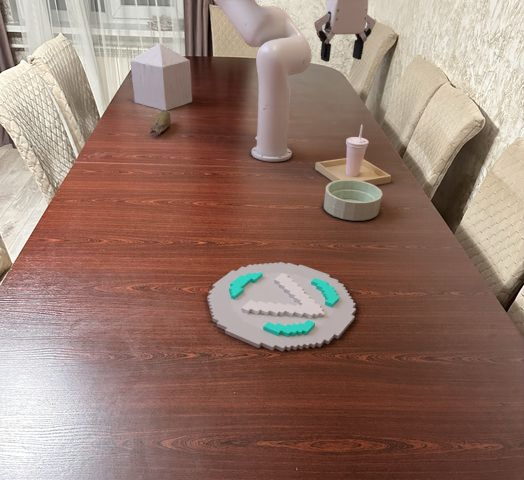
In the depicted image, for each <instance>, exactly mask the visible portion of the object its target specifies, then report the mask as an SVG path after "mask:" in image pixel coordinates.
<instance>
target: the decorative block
mask: <svg viewBox="0 0 524 480" xmlns="http://www.w3.org/2000/svg"><path fill="white" fill-rule="evenodd" d="M191 69H192V68H191V61H190V59H188V58H186V57H185V56H183V55H182V54H180V53H178V52H176V51H174V50H172V49H171V48H170V47H167V46H166V45H164V44H162V43H157V44H155V45H153V46H152V47H150V48H148V49H146V50H144V51H143V52H142V53H140V54H138V55H137V56H135V57H133V58H132V59H131V60H130V71H131V78H132V79H131V80H132V89H133V94H134V95H133V97H134V103H135V104H138V105H139V104H140V105H142V106H146V107H150V108H155V109H157V110H161V111H169V110H172V109H175V108H178V107H181V106H184V105H187V104H190V103H192V102H193V93H192V71H191Z"/></svg>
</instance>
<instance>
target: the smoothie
mask: <svg viewBox="0 0 524 480" xmlns="http://www.w3.org/2000/svg"><path fill="white" fill-rule="evenodd" d="M359 128H360V129H359V135H358V136H350V137H347V138H346V139H345V145H346V154H345V155H346V157H345V158H346V174H347V175H348V176H358V175H359V171H360V168H361V165H362V161H363V159H365V158H364V157H365V154H366V151H367V150H366V149H367V148H368V146H369V140H368V139H367V138H364V137H362V135H363V128H364V124H360V127H359Z"/></svg>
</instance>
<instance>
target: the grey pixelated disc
mask: <svg viewBox="0 0 524 480" xmlns="http://www.w3.org/2000/svg"><path fill="white" fill-rule="evenodd" d="M211 288H212V289H210V290H209V291H208V295H207V297H206V301H207V305H208V308H209V312H210V313H209V314H210V316H211V317H210V318H211V319H212V320H211V322H213V323H216V327H217V328H219V329H222V330H224V334H225V335H227V336H230V337H232V338H234V339H237V340H239V341H241V342H244V343H246V344H248V345H251V346H253V347H254V348H257V349H260V348H261V347H263V348H265V349H267V350H270V351H274V350H275V349H276V350H278V351H280V352H285V350H286V351H288V352H290V351H291V350H293V351H296V350H297V349H299V350H303V349H307V350H308V349H309V348H312V349H315V347H316V348H317V347H318V348H321V347H322V346H323V344H326V345H329V344H330V343H331V342H332V341H333V340H334V339H337V340H339V339H340V338H341V336H342V335H343V334H344V332H345V331H346V330H347V329H348V328H349V326H350V325H351V324H352V323H353V322H354V321H355V317H356V316H355V314H356V312H357V308H356V305H357V303H355V302H354V301H355V300H354V299H352V296H351V295H350V292H349V291H348V290H347V287H346V286H345V284H343V283H341V282H340V281H339V279H336V278H334V277H331V275H330V274H328V273H325V272H323V271H320V270H317V269H314V268H311V267H309V266H306V265H304V264H299V265H297V264H295V263H291V262H287V263H285V262H283V261H279V262H276V261H275V262H274V263H272V262H269V263H267V262H264V263H259V264H257V263H254V264H248V265H247V266H241V267H239V268H238V269H237V270H234V269H232V270H230V271H229V272H228V273H227V274H225V275H224V276H223V277H221V278H220V279H219V280H217V281H216V282H214V283H213V284H212V287H211ZM348 292H349V293H348Z"/></svg>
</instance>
